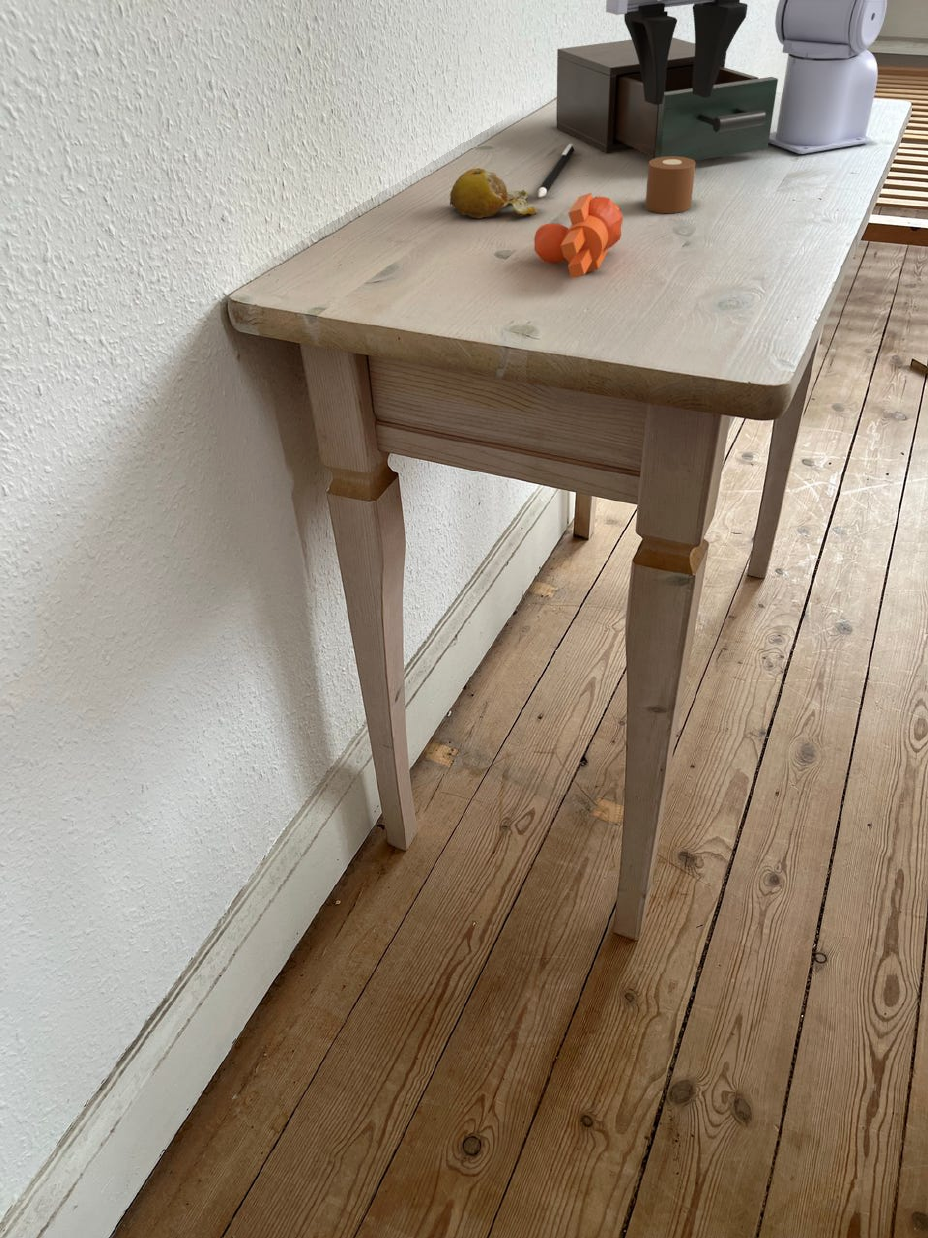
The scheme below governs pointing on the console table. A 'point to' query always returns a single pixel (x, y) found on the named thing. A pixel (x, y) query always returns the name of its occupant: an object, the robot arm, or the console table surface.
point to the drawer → (695, 115)
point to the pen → (556, 170)
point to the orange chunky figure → (581, 235)
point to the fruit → (486, 195)
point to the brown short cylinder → (670, 184)
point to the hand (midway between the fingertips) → (677, 98)
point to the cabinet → (601, 87)
